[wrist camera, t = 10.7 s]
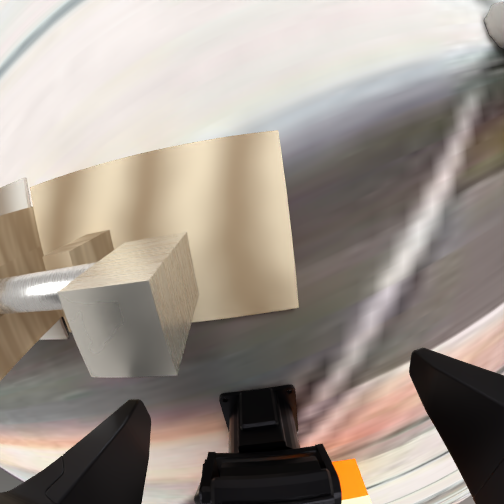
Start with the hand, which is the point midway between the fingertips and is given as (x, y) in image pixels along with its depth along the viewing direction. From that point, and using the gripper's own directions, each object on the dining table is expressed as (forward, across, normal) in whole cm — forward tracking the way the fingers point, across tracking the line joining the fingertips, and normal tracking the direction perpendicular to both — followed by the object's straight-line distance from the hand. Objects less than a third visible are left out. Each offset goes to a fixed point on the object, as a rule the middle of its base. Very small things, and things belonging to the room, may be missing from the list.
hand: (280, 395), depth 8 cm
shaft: (+6, +13, -3) cm, 15 cm away
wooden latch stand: (+13, +12, -3) cm, 18 cm away
